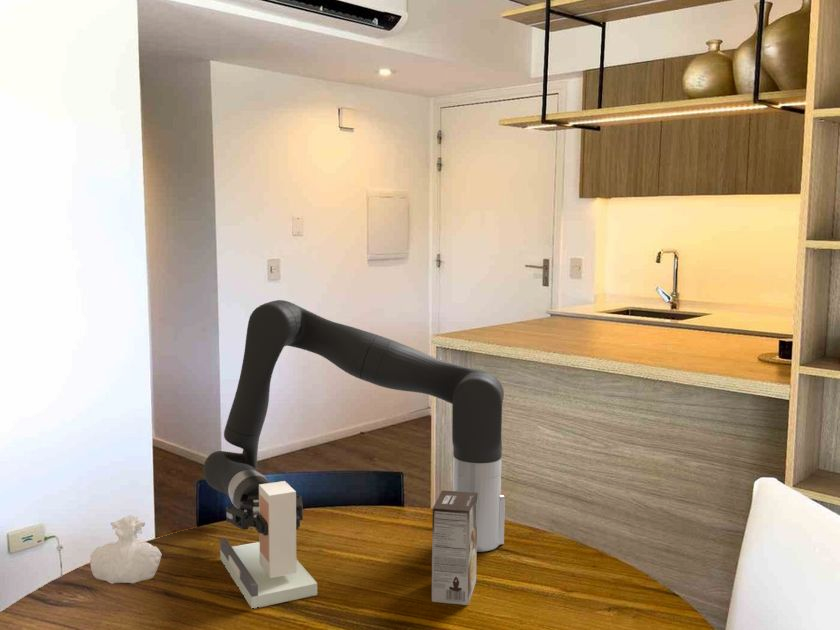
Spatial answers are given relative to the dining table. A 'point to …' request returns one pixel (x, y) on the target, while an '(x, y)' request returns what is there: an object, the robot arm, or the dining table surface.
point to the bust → (125, 555)
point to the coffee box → (454, 547)
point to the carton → (278, 528)
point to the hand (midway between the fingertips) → (281, 526)
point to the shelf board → (263, 577)
